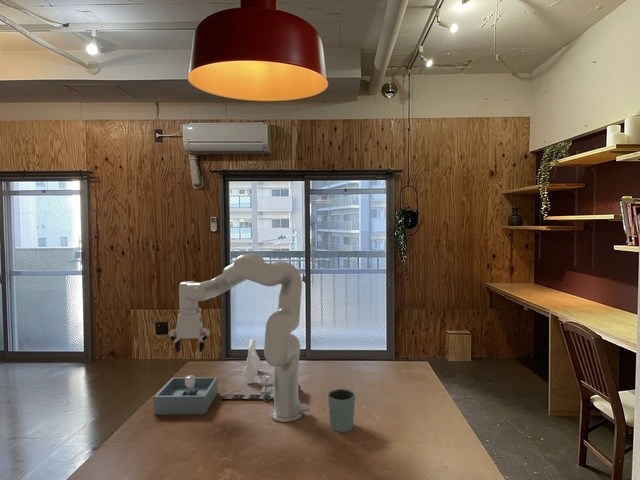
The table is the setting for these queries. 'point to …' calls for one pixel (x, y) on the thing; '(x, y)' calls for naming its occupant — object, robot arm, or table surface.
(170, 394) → the open box
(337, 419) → the teal cup
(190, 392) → the peg
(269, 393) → the toy car
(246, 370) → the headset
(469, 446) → the table surface
